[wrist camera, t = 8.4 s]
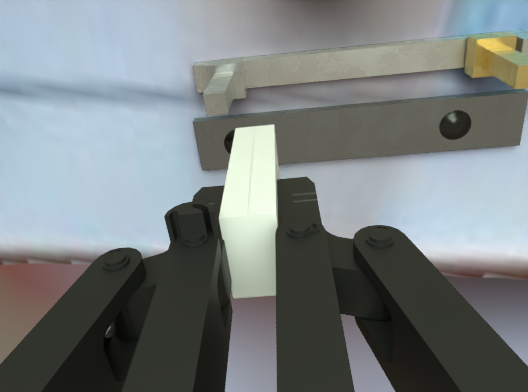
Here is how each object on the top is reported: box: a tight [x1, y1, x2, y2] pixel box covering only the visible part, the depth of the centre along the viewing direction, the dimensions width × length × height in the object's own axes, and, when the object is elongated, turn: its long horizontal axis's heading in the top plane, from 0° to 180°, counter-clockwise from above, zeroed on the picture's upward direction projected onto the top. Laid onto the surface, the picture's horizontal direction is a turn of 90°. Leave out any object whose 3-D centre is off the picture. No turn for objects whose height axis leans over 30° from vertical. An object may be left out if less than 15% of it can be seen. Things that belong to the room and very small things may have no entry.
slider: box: [464, 31, 528, 89], centre depth 34 cm, size 3×3×8 cm
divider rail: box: [193, 29, 528, 115], centre depth 36 cm, size 28×3×9 cm, turn 96°
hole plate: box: [193, 89, 528, 170], centre depth 43 cm, size 30×5×1 cm, turn 96°
